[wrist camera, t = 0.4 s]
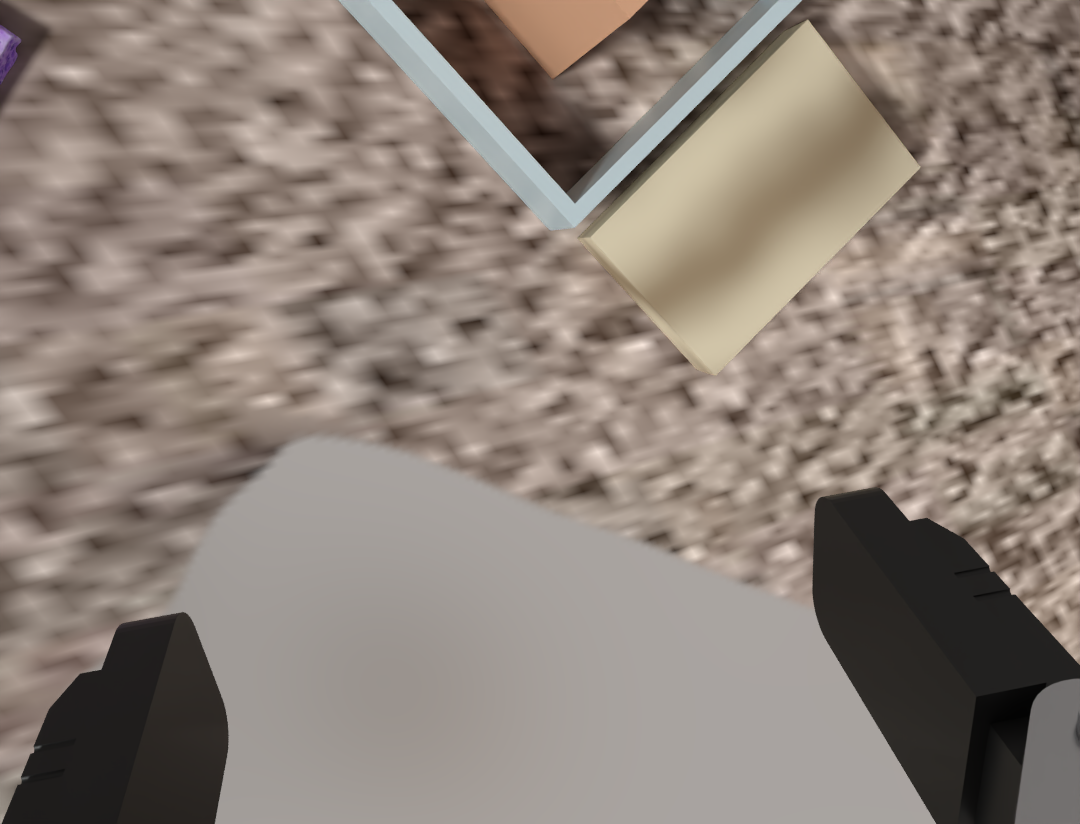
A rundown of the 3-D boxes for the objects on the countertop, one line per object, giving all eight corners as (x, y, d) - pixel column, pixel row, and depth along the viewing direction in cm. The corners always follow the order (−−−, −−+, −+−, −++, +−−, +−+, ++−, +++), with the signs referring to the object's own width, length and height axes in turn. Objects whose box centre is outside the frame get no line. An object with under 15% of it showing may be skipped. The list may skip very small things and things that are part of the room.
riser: (577, 238, 38) (590, 237, 36) (784, 31, 39) (807, 19, 37) (697, 369, 40) (715, 376, 38) (892, 171, 41) (920, 167, 39)
